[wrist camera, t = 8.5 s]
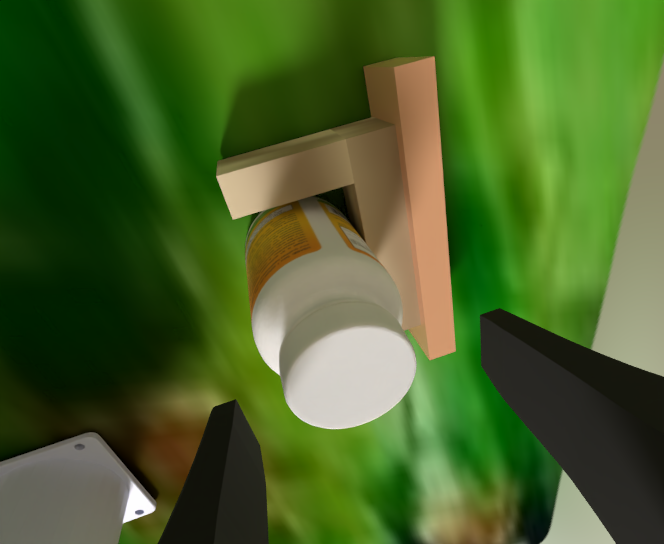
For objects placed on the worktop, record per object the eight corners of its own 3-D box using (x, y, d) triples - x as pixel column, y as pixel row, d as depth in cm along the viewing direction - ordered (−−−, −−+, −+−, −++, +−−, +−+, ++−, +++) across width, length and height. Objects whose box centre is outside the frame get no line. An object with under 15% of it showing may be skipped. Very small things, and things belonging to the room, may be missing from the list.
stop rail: (403, 322, 23) (429, 360, 20) (362, 66, 16) (393, 67, 13) (426, 314, 23) (455, 351, 20) (396, 57, 16) (434, 56, 13)
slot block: (284, 337, 21) (290, 369, 19) (217, 160, 16) (216, 176, 14) (401, 298, 22) (421, 324, 20) (373, 116, 17) (395, 124, 15)
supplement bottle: (242, 291, 20) (253, 457, 12) (245, 189, 17) (262, 304, 9) (343, 291, 21) (417, 437, 13) (358, 196, 19) (461, 301, 11)
